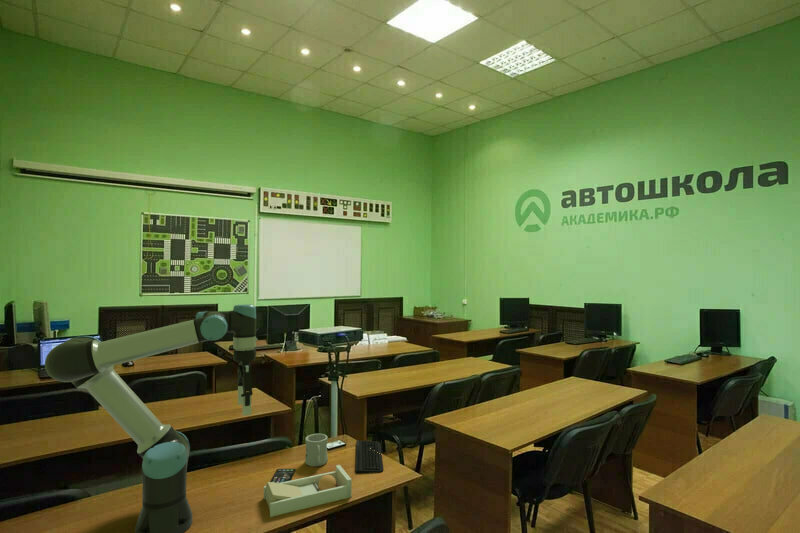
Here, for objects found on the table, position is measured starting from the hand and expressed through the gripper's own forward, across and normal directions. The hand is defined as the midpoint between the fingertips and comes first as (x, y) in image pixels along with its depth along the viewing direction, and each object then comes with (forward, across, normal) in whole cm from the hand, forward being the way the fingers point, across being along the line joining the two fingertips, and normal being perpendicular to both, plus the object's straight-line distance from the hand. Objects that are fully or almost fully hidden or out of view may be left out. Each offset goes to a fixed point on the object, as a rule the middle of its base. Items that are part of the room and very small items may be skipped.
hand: (244, 409), depth 152 cm
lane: (+29, -14, -19) cm, 37 cm away
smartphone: (+29, +4, -14) cm, 33 cm away
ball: (+26, -14, -26) cm, 39 cm away
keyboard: (+29, +7, -50) cm, 59 cm away
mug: (+29, +10, -29) cm, 42 cm away
